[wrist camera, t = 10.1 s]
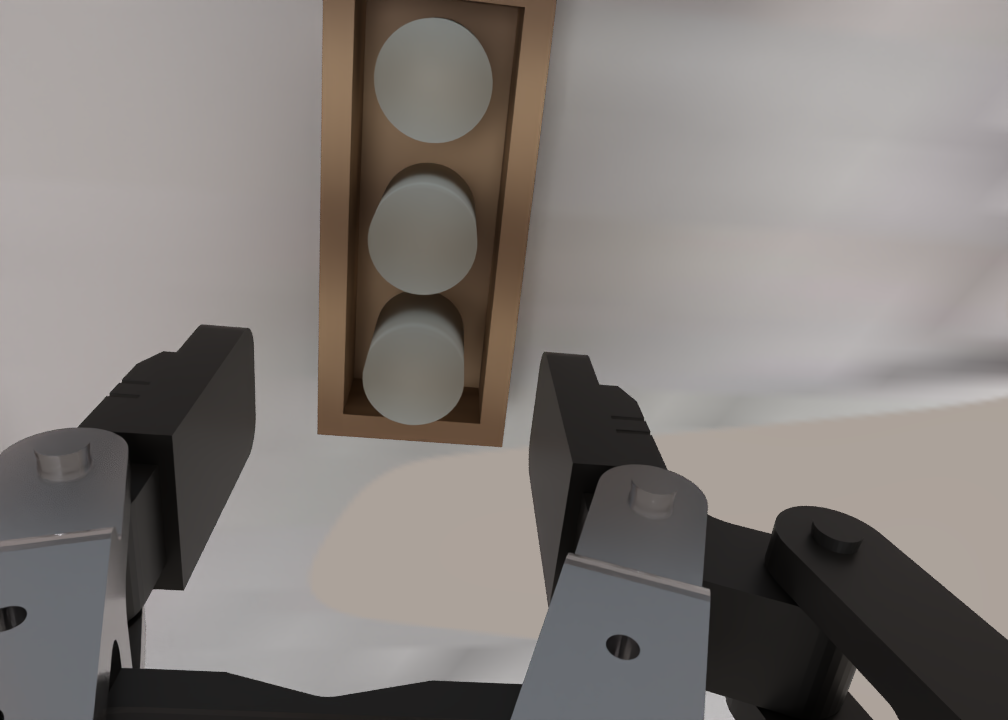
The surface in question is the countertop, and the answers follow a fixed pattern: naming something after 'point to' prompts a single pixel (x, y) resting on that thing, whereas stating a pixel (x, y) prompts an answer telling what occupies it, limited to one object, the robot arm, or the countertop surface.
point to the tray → (356, 206)
